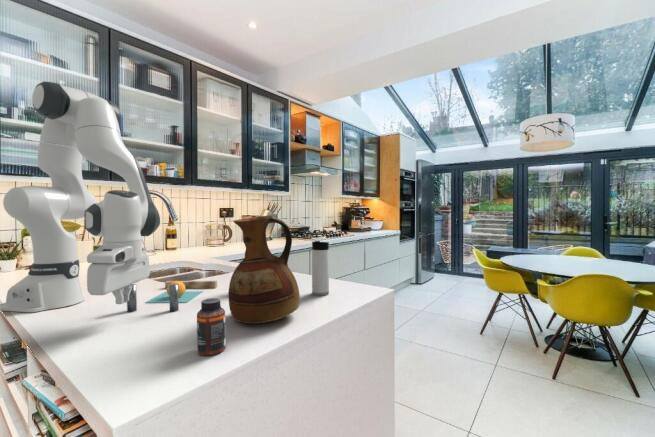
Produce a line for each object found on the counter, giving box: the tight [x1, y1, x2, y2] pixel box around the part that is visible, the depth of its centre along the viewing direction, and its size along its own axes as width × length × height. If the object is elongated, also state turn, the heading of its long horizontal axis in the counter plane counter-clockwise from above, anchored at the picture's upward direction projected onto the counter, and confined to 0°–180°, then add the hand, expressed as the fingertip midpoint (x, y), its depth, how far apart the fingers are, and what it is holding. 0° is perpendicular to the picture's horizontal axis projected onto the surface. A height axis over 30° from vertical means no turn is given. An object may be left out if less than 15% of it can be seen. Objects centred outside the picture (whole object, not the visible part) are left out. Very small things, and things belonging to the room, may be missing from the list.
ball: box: [166, 280, 186, 298], centre depth 111 cm, size 6×6×6 cm
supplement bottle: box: [196, 297, 227, 356], centre depth 69 cm, size 6×6×11 cm
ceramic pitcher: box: [227, 214, 301, 324], centre depth 90 cm, size 20×20×30 cm
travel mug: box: [311, 240, 330, 297], centre depth 115 cm, size 6×7×20 cm
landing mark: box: [144, 290, 203, 304], centre depth 112 cm, size 14×14×1 cm
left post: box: [126, 283, 138, 313], centre depth 96 cm, size 2×2×8 cm
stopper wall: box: [164, 280, 218, 289], centre depth 125 cm, size 20×2×2 cm, turn 91°
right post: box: [169, 284, 180, 313], centre depth 97 cm, size 2×2×8 cm
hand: (122, 302), depth 83 cm, fingers closed
